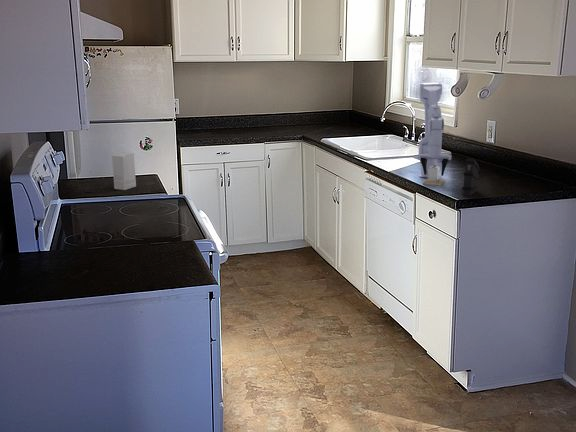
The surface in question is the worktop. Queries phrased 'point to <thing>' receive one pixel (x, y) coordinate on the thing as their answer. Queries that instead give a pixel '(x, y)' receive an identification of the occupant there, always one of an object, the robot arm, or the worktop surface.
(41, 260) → the worktop surface
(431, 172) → the housing
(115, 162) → the skincare box
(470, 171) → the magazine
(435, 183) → the stand
